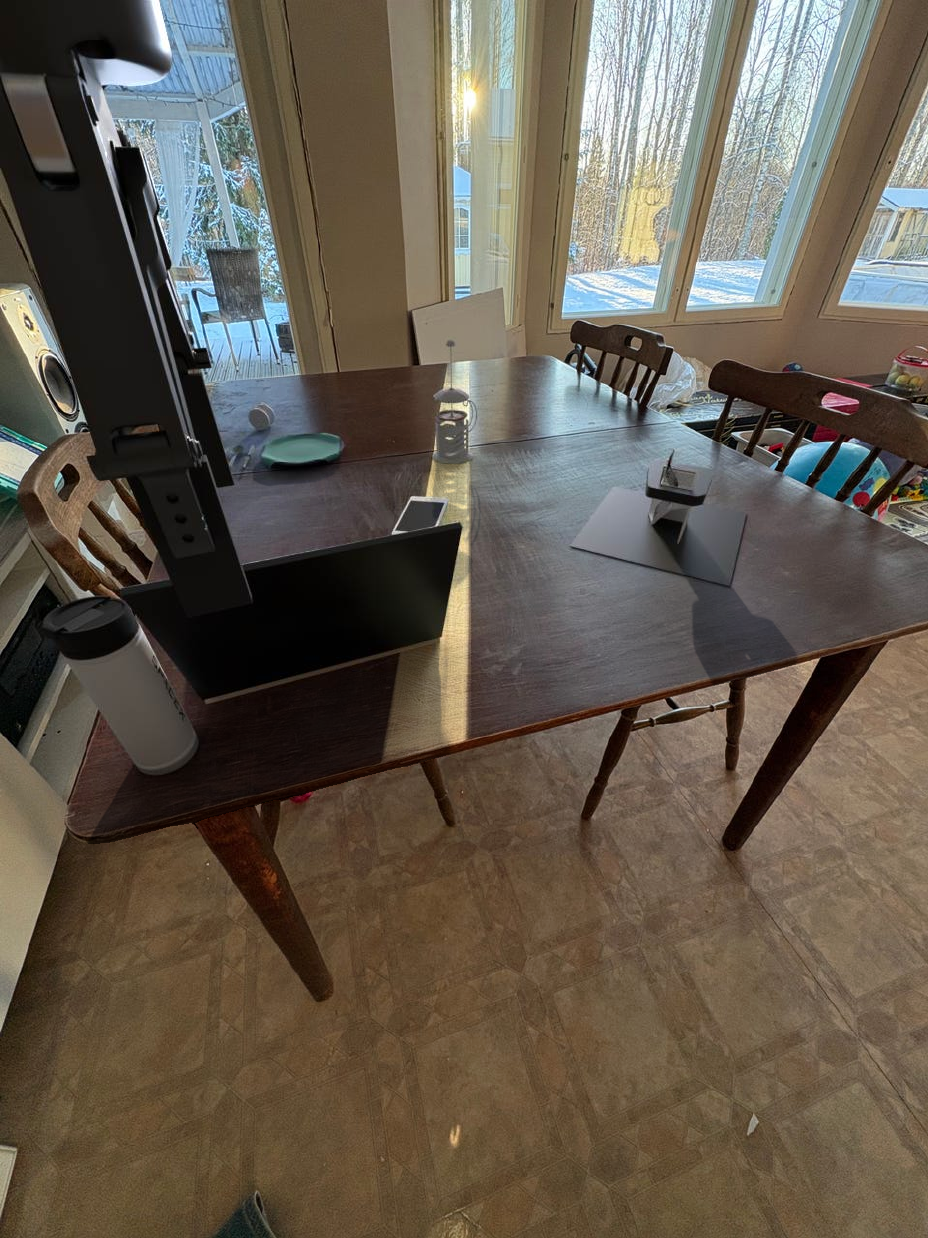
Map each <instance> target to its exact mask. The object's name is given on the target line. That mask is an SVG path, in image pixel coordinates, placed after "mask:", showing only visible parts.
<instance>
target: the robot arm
mask: <svg viewBox="0 0 928 1238" xmlns="http://www.w3.org/2000/svg"><path fill="white" fill-rule="evenodd" d="M171 49H172V48H171V45H170V42H169V37H168V33H167V28H166V25H165V20H164V17H163V13H162V8H161V4H160V1H159V0H0V171H1V173H2V176H3V179H4V181H5V183H6V186H7V189H8V192H9V195H10V198H11V201H12V205H13V207H14V210H15V213H16V216H17V218H18V222H19V225H20V228H21V231H22V234H23V237H24V240H25V243H26V245H27V249H28V252H29V255H30V258H31V261H32V264H33V267H34V270H35V273H36V276H37V279H38V282H39V285H40V288H41V290H42V294H43V297H44V300H45V303H46V305H47V309H48V312H49V314H50V315H49V316H50V317H51V321H52V324H53V326H54V330H55V333H56V335H57V338H58V342H59V345H60V347H61V350H62V354H63V356H64V360H65V362H66V366H67V369H68V372H69V374H70V377H71V380H72V384H73V386H74V389H75V392H76V396H77V399H78V402H79V404H80V407H81V411H82V414H83V416H84V420H85V423H86V426H87V428H88V431H89V435H90V437H91V440H92V444H93V447H94V449H95V451H94V454H92V455H86V456H85V457H86V461H87V464H88V466H89V468H90V471H91V473H92V474H93V476H94V478H95V479H96V480H97V481H99V482H107V481H113V480H119V479H126V481H127V485H128V486H129V489H130V492H131V494H132V495H133V498H134V500H135V502H136V504H137V507H138V509H139V511H140V514H141V516H142V519H143V520H144V522H145V525H146V527H147V529H148V532H149V534H150V537H151V539H152V541H153V543H154V546H155V548H156V550H157V552H158V555H159V557H160V560H161V561H162V564H163V566H164V568H165V571H166V573H167V575H168V577H169V578H168V579H170V580H171V582H172V584H173V587H174V589H175V591H176V594H177V596H178V598H179V600H180V603H181V605H182V607H183V610H184V612H185V614H186V616H187V618H190V617H194V616H199V615H203V614H208V613H212V612H217V611H221V610H226V609H230V608H235V607H239V606H244V605H248V604H253V601H252V595H251V592H250V588H249V585H248V582H247V579H246V576H245V573H244V570H243V567H242V564H243V563H242V561H241V557H240V554H239V552H238V549H237V545H236V543H235V540H234V536H233V533H232V530H231V527H230V525H229V520H228V517H227V515H226V511H225V509H224V506H223V502H222V500H221V496H220V492H219V491H218V490H219V489H221V488H226V487H234V486H235V479H234V476H233V472H232V470H231V469H232V468H231V469H230V466H229V459H228V457H227V456H228V455H227V454H226V453H225V449H224V448H225V445H224V443H223V440H222V435H221V433H220V430H219V426H218V423H217V420H216V417H215V413H214V410H213V406H212V403H211V399H210V397H209V392H208V390H207V385H206V383H205V379H204V376H203V373H202V372H193V373H192V372H190V371H196V370H197V371H198V370H206V369H213V365H212V362H211V358H210V355H209V352H208V348H207V347H194V346H195V339H194V336H193V333H191V332H190V331H189V327H188V325H187V322H186V319H185V315H184V312H183V310H182V309H183V308H182V307H181V303H180V301H179V298H178V295H177V291H176V287H175V286H174V282H173V279H172V276H171V273H170V270H171V269H172V266H173V263H172V258H171V254H170V250H169V245H168V241H167V238H166V235H165V233H164V229H163V226H162V224H161V220H160V217H159V214H160V211H161V205H160V201H159V197H158V194H157V189H156V185H155V182H154V181H155V180H154V178H153V174H152V172H151V168H150V165H149V163H148V159H147V156H146V153H145V152H142V149H141V147H140V146H133V145H132V142H131V141H129V140H128V137H127V134H126V133H125V130H122V129H117V128H116V125H115V121H114V119H113V116H112V112H111V110H110V108H109V105H108V101H107V99H106V96H105V93H104V90H105V89H106V88H107V87H108V86H111V85H112V86H123V87H129V88H131V87H139V86H146V85H151V84H154V83H158V82H160V81H162V80H164V79H165V78H166V77H168V75H169V73H170V71H171V69H172V65H173V54H172V50H171ZM156 425H159V426H160V427H162V428H163V430H155V431H146V432H138V433H133V432H134V431H135V430H136V429H138V428H140V427H148V426H156Z"/></svg>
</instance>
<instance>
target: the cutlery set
mask: <svg viewBox="0 0 928 1238" xmlns="http://www.w3.org/2000/svg"><path fill="white" fill-rule="evenodd" d="M224 449H225V453H226V455H227V454H228V451H229V446H227V447H225V446H224ZM344 449H345V443H344V441H343V440H342V439H340V436H337V435H336V434H335V435H334V434H331V433H326V432H318V433H300V434H292V435H291V434H287V435H286V434H285V435H283V436H282V435H281V436H279V437H276V438H274V439H271V440H268V441H267V442H265V444H264V445H263V446H262V447H261V448H260V449H259V457H260V460H261V462H262V463H263V464H264V466H266V467H267V468H269V469H272V465H273V464H275V465H280V466H281V465H282V466H305V465H313V464H317V463H321V462H325V461H327V462H328V463H329V462H331V461H333V460H336V459H337V458H338V457H339V455H340V453H342V452H343V451H344ZM229 452H230V454H232V455H233V456H232V458H231V459H230V460H229V461H228V463H229V466H230V469H232V467H233V464H234V462H235V460H236V458H237V456H240V455H242V454H243V453H244V452H245V446H244V445H235V446H233V447H232V448H230V451H229ZM254 452H255V445H253V444H251V446H250V448H249V451H248V453H247V454H245V456H244V459H245V460H244V464H243V466H242V467H241V469H242V471H246V470H247V469H246V468H247V464H248V462H249V461H250V460H252V455H253V453H254Z"/></svg>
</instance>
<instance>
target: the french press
mask: <svg viewBox="0 0 928 1238" xmlns="http://www.w3.org/2000/svg"><path fill="white" fill-rule="evenodd" d="M445 346H446V347H449V349H450V350H449V351H450V352H449V353H450V355H449V356H450V358H449V359H450V362H452V348H453V347H456V342H455V341H454V340H453V339H448V340H447V341H446V343H445ZM433 400H435V401H436V402H439V403H443V404H451V405H450V407H451V408H450V409H444V410H440V411H438V412H437V413H436V414H435V416H436V419H435V445H436V447H435V448H436V451H435V452H434V453H433V454H432V459H433V460H434V461H435V462H438V463H442V464H447V465H451V464H453V465H454V464H455V465H456V464H457V465H458V464H463V463H467V462H468V461H471V460H472V459H473V457H474V456H473V453H472V452H471V451H470V449H469V441H470V440H469V436H470V435H469V433H470V432H471V431H473V429H474V428H475V426H476V424H477V421H478V408H477V405H476V404H475V403H474V401H472V400H470V394H469V393H467V392H465V390H462V389H461V388H460V389H459V388H455V387H453V375H452V364H450V387H448V388H447V387H446V388H442V389H441V390H439V391H438V392H436V393H435V394H433ZM465 402H466V404H465ZM460 403H462V405H463V406H464V407H468V405H469V404H470V408H471V417H470V422H469V419H467V417H468V413H467V412H466V411H464V410H457V409H453V404H460ZM473 407H474V408H473ZM474 410H475V419H474V424H473V426H472V427H471V428H470V429H469V427H470V426H471V424H472V421H473V418H474ZM445 422H451V423H445ZM442 423H444V424H442ZM452 423H453V424H452ZM449 438H450V439H449Z"/></svg>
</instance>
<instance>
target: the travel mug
mask: <svg viewBox="0 0 928 1238" xmlns="http://www.w3.org/2000/svg"><path fill="white" fill-rule="evenodd" d="M134 614H135V613H134V612H133V611H132V609H131V608H130V607H129V605H128V604H127V603H126V601H125V600H124V599H123V598H117V597H111V595H92V596H87V597H82V598H78V599H74V600H72V601H69V602H67V603H64V604H61V605H60V606H58V607H56V608H54V609H52V610H50V612H49V613H47V615H45V617H44V618H43V620H42V625H41V626H40V627H39V631H40V633H41V634H42V636H43V637H45V638H47V639H50V640H52V642H53V643H54V644H55V645H56V647H57V649H58V650H59V653H60V655H61V656H62V658H63V659H64V660H65V662H66V664H67V665H68V666H69V668H70V669H71V671H72V673H73V674H74V675H75V678H77V680H78V681H79V683H80V684H81V686H82V688H83V689H84V690H85V692H86V694H87V695H88V697H89V698H90V700H91V701H92V702H93V704H94V705H95V707H96V708H97V710H98V712H99V713H100V714H101V716H102V717H103V719H104V720H105V722H106V723H107V725H108V726H109V727H110V729H111V731H112V732H113V734H114V735H115V736H116V738H117V740H118V741H119V742H120V744H121V746H122V747H123V749H124V750H125V751H126V753H127V754H128V756H129V757H130V759H131V760H132V762H133V763H134V765H135V767H136V768H137V769H138V770H139V771H140V772H141V773H143V774H145V775H148V776H162V775H166V774H170V773H172V772H174V771H177V770H179V769H181V768H182V767H183V766H185V765H186V764H187V763H189V761H191V759H192V758H193V757H194V756H195V754H196V752H197V750H198V748H199V741H200V740H199V736H198V735H197V733H196V731H195V729H194V726H193V725H192V723H191V721H190V719H189V717H188V716H187V713H186V711H185V709H184V707H183V706H182V703H181V702H180V699H179V698H178V696H177V694H176V692H175V690H174V688H173V686H172V684H171V683H170V680H169V678H168V676H167V675H166V673H165V671H164V669H163V667H162V665H161V663H160V661H159V660H158V657H157V655H156V653H155V651H154V649H153V648H152V646H151V644H150V642H149V640H148V638H147V636H146V634H145V632H144V631H143V628H142V626H141V625H140V623H139V621H138V620H137V618H136V616H135V615H134Z"/></svg>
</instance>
